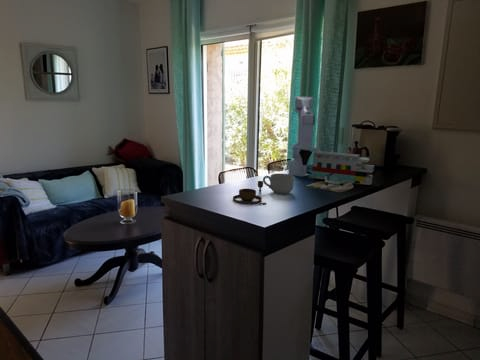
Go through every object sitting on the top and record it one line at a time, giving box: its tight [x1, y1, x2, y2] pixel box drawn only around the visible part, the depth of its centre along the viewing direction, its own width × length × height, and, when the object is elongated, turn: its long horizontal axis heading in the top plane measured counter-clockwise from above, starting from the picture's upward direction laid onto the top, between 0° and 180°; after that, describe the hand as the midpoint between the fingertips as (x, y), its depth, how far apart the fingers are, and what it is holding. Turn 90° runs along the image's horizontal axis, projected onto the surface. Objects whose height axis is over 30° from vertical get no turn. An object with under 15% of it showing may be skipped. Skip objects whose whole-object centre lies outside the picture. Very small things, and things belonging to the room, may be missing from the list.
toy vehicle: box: [311, 150, 375, 187], centre depth 185 cm, size 8×30×15 cm, turn 62°
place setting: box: [232, 180, 267, 207], centre depth 147 cm, size 18×20×6 cm
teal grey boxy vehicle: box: [324, 173, 344, 186], centre depth 172 cm, size 7×7×5 cm
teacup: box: [262, 173, 295, 195], centre depth 159 cm, size 14×11×8 cm
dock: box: [305, 181, 355, 193], centre depth 175 cm, size 19×14×4 cm
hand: (304, 165), depth 180 cm, fingers closed
